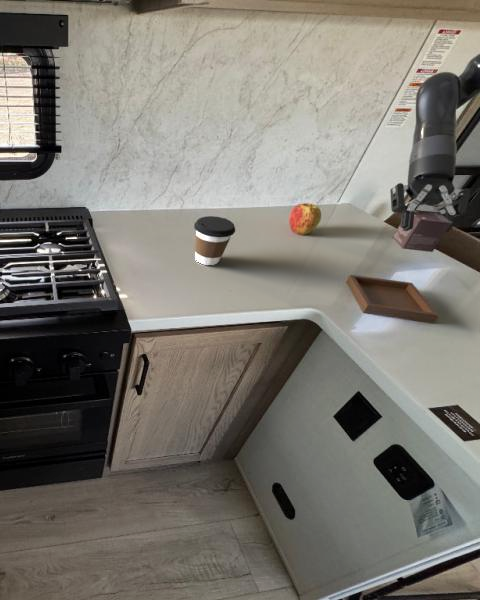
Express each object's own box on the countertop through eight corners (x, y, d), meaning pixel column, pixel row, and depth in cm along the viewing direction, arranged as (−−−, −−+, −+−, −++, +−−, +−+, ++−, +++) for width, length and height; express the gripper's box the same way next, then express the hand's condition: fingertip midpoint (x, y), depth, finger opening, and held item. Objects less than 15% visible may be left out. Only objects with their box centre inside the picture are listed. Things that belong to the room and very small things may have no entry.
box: (432, 253, 77) (453, 222, 73) (400, 249, 79) (419, 219, 75) (421, 241, 82) (440, 211, 78) (391, 237, 84) (408, 208, 79)
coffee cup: (201, 273, 97) (210, 234, 89) (180, 255, 105) (187, 218, 98) (233, 266, 99) (245, 228, 92) (210, 249, 108) (219, 213, 101)
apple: (283, 225, 122) (293, 197, 116) (312, 228, 119) (323, 200, 113) (285, 235, 115) (296, 207, 109) (316, 239, 112) (329, 210, 107)
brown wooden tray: (406, 290, 89) (411, 282, 88) (433, 323, 79) (439, 315, 77) (345, 281, 93) (349, 274, 91) (363, 312, 82) (367, 305, 81)
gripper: (405, 150, 77) (398, 221, 75) (485, 154, 73) (480, 229, 71) (384, 168, 84) (377, 233, 82) (456, 172, 80) (450, 241, 78)
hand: (425, 231), depth 77 cm, fingers closed on box, 6 cm apart
